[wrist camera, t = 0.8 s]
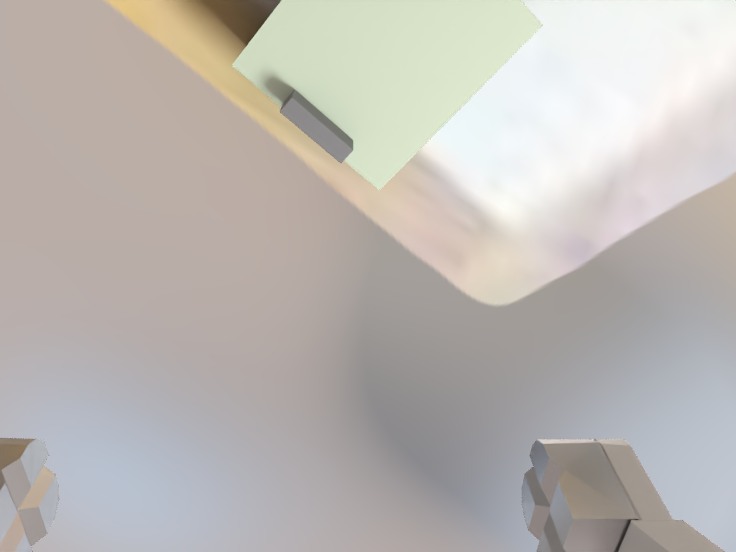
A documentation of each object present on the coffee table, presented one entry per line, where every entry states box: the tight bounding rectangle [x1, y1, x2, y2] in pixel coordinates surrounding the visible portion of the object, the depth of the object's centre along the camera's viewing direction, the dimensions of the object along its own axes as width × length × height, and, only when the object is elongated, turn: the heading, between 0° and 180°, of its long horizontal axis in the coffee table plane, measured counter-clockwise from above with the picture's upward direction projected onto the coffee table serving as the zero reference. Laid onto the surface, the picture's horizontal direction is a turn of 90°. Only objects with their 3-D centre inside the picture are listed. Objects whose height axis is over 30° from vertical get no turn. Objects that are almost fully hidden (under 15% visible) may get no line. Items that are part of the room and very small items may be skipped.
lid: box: [232, 0, 543, 190], centre depth 35 cm, size 15×13×3 cm
